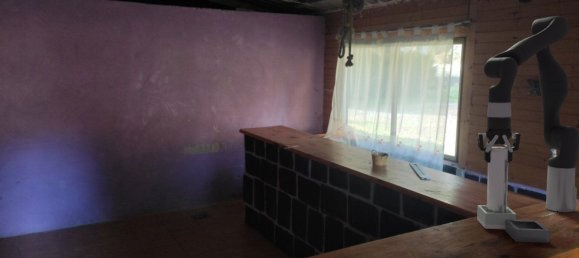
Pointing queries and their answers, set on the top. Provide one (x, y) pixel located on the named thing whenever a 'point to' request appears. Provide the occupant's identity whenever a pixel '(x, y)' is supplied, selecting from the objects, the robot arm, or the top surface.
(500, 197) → the air filter
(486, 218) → the white open box
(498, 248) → the top surface
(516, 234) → the socket
